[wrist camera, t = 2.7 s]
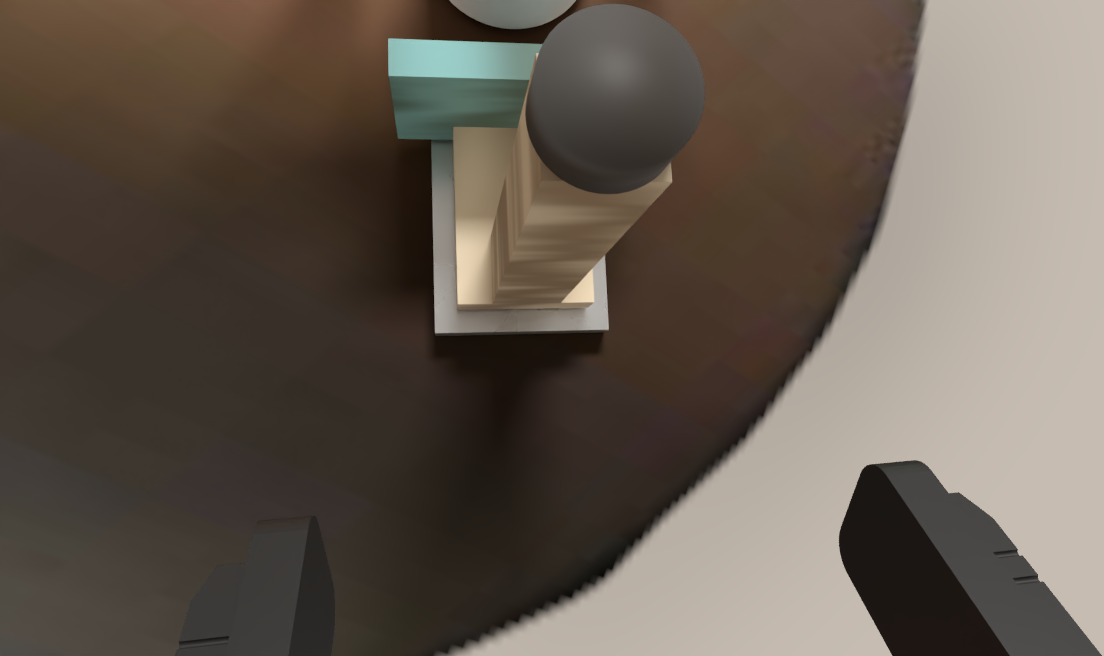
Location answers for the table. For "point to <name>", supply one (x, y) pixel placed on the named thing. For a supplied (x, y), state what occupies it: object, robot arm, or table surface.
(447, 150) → the white flat board
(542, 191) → the kicker rod
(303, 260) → the table surface
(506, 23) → the beverage can
